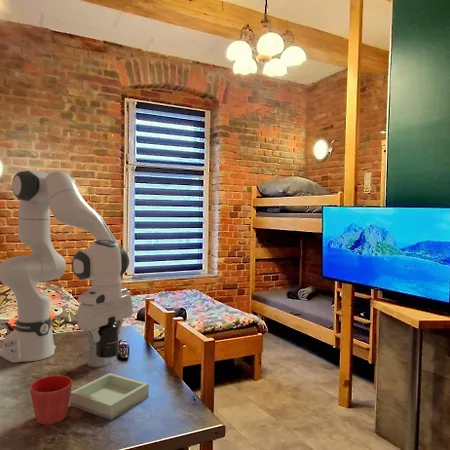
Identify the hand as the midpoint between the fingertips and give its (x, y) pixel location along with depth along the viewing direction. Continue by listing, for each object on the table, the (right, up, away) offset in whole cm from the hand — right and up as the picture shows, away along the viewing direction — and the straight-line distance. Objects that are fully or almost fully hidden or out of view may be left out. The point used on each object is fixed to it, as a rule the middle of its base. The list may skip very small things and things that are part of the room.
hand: (107, 337), depth 129 cm
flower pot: (-11, -19, -14) cm, 26 cm away
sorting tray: (+2, -18, -4) cm, 18 cm away
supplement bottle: (0, -6, 0) cm, 6 cm away
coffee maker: (-10, -17, +27) cm, 33 cm away
